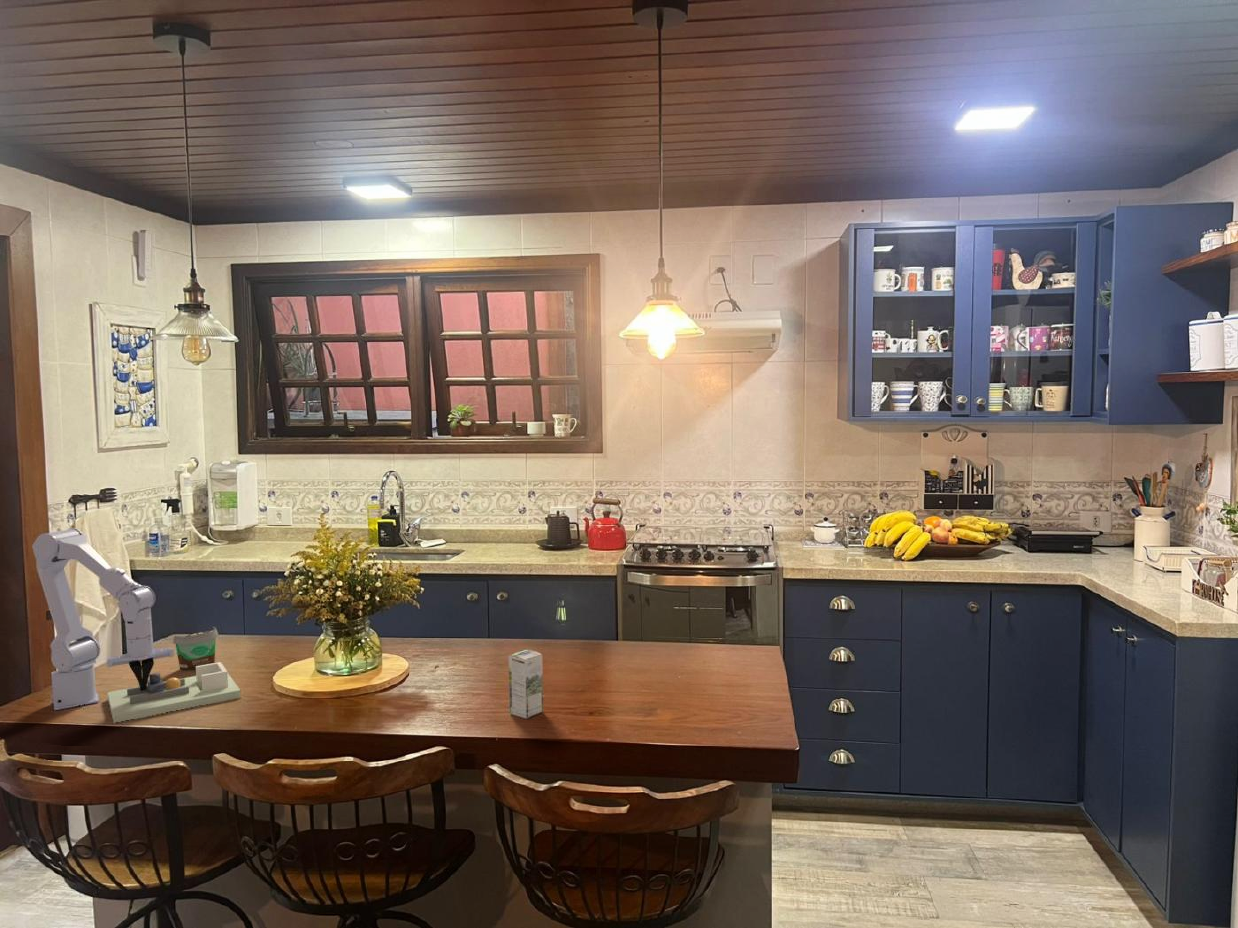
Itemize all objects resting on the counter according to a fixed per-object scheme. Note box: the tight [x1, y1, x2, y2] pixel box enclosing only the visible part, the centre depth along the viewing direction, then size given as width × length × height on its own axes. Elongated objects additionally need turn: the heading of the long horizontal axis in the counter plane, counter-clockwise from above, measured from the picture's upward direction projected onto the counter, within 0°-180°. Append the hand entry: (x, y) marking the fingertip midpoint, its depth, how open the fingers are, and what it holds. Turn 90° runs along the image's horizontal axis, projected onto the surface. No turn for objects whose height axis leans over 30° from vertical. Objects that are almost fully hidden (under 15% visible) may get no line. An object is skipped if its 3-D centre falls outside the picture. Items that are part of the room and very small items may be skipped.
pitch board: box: [107, 671, 242, 724], centre depth 217 cm, size 28×20×4 cm
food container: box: [172, 626, 219, 671], centre depth 243 cm, size 12×6×10 cm, turn 143°
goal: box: [195, 661, 229, 691], centre depth 222 cm, size 6×10×4 cm, turn 34°
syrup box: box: [508, 649, 544, 720], centre depth 201 cm, size 6×6×14 cm
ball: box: [165, 677, 181, 690], centre depth 217 cm, size 4×4×4 cm
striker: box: [147, 672, 164, 694], centre depth 214 cm, size 3×6×5 cm, turn 35°
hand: (143, 689), depth 213 cm, fingers closed
